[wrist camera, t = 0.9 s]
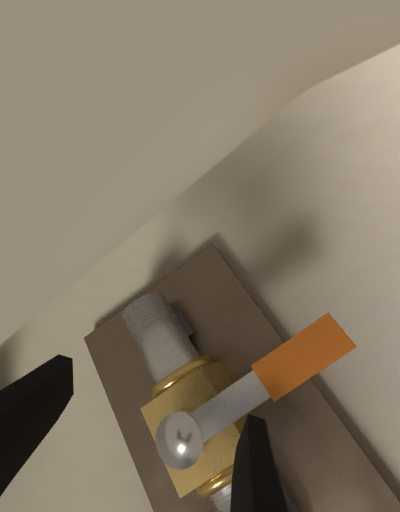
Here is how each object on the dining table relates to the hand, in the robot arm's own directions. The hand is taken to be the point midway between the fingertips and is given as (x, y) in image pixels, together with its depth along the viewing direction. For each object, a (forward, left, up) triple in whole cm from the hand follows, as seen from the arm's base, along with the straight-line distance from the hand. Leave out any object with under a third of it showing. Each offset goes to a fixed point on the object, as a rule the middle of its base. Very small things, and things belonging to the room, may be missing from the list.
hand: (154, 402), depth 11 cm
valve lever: (-2, -2, -7) cm, 8 cm away
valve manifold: (-2, +3, -15) cm, 15 cm away
